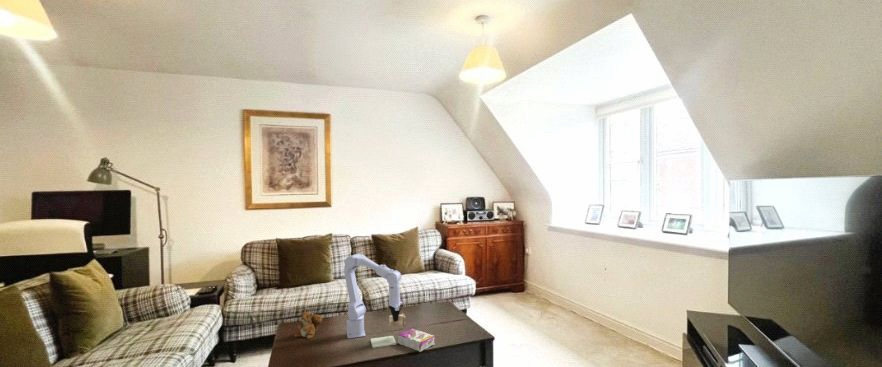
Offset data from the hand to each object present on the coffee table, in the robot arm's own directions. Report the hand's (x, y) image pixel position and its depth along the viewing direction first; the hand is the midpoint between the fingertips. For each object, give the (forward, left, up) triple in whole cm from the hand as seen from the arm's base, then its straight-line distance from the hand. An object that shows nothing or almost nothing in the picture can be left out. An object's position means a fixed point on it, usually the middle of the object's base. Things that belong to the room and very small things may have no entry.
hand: (395, 320), depth 201 cm
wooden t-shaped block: (0, 0, -3) cm, 3 cm away
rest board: (-7, -1, -10) cm, 12 cm away
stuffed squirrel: (-44, +24, -11) cm, 51 cm away
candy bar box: (+4, -2, -8) cm, 9 cm away
